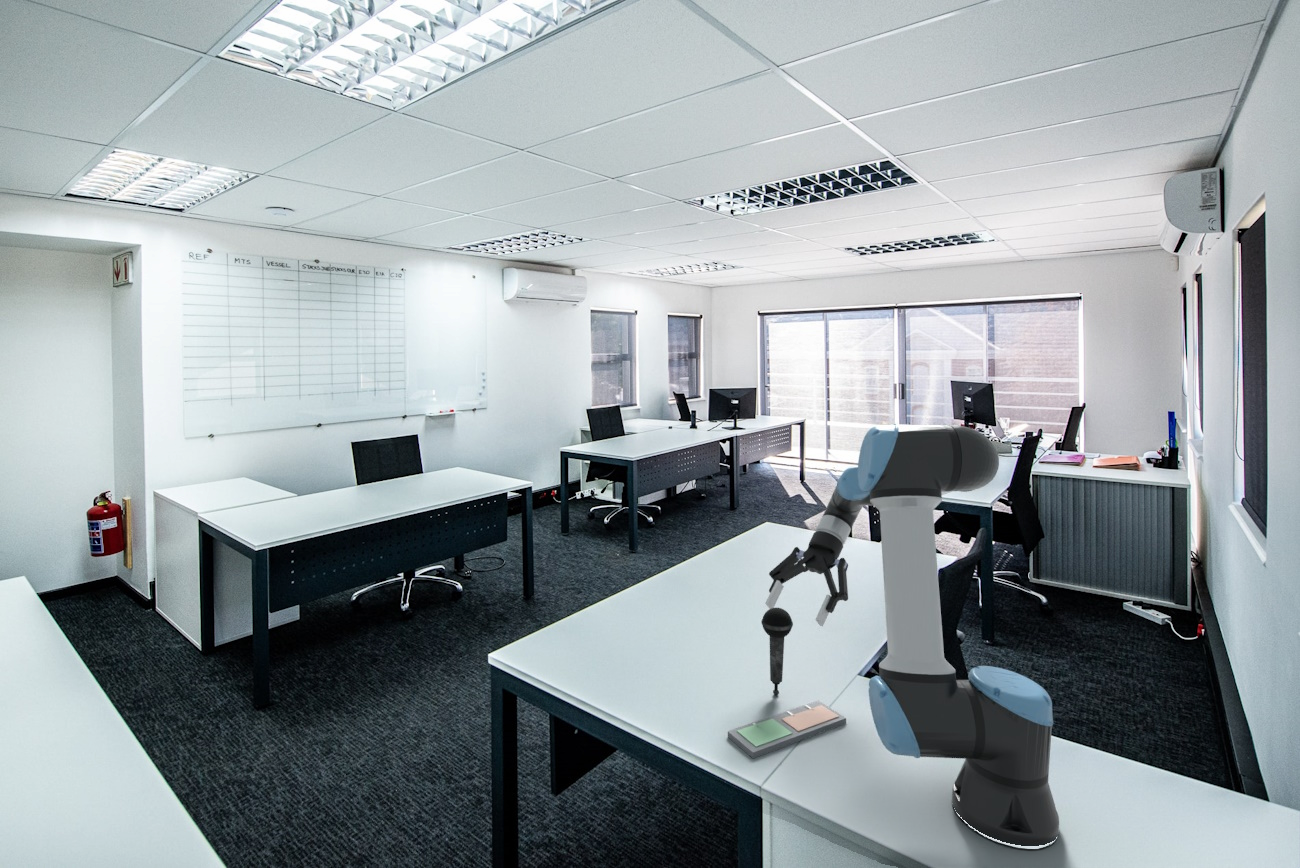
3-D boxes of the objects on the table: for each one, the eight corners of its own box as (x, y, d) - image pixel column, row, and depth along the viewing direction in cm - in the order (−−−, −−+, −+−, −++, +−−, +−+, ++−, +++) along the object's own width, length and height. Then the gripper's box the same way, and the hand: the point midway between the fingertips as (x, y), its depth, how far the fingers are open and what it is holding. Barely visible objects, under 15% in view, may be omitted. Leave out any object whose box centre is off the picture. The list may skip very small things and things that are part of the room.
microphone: (789, 688, 144) (791, 603, 142) (793, 703, 137) (795, 615, 135) (759, 686, 145) (760, 602, 143) (761, 702, 138) (762, 614, 136)
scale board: (846, 723, 129) (846, 717, 129) (752, 758, 118) (753, 751, 118) (818, 705, 136) (818, 699, 136) (727, 736, 125) (727, 730, 125)
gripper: (882, 557, 147) (848, 638, 138) (791, 537, 165) (756, 608, 156) (872, 539, 142) (836, 622, 134) (780, 521, 160) (742, 592, 152)
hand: (792, 614), depth 145 cm, fingers open, 13 cm apart
